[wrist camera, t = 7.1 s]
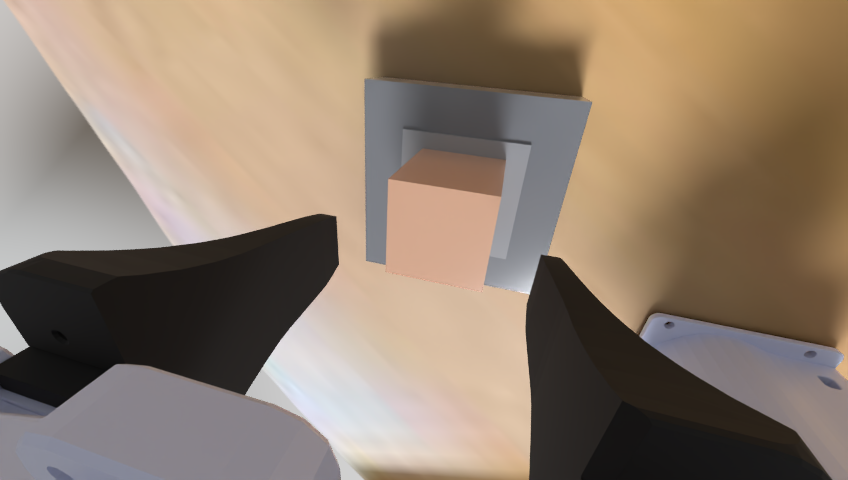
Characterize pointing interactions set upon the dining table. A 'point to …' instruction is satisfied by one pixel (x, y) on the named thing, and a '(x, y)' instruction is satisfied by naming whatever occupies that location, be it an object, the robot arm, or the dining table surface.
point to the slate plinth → (480, 136)
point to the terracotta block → (443, 217)
